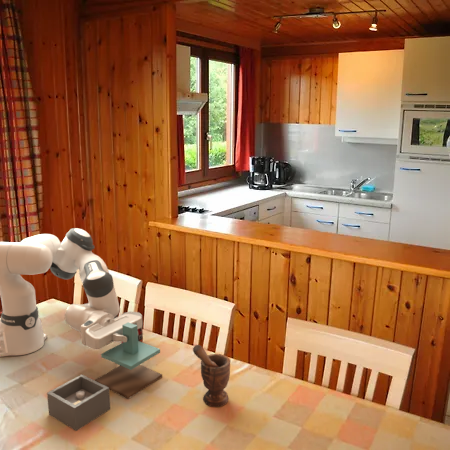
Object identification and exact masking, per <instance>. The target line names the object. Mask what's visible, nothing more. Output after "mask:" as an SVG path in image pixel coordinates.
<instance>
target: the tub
mask: <svg viewBox="0 0 450 450" xmlns="http://www.w3.org/2000/svg"><path fill="white" fill-rule="evenodd" d="M46 395H47V406H48V407H47V408H48V415H49V416H50V417H52V418H53V419H55V420H57V421H58V422H61V423H62V424H64V425H65V426H66V427H69V428H70V429H73V430H74V431H76V432H77V431H79V430H81V428H83V427H85V426H87V425H88V424H89V423H91V422H92V421H93V420H95V419H97V418H99V417H101V416H102V415H103V414H104V413H107V412H109V410H111V397H110V390H109V387H107V386H105V385H103V384H101V383H99V382H97V381H95V379H92V378H90V377H88V376H86V375H84V374H83V373H81V374H80V375H77V376H76V377H74V378H73V379H70V380H69V381H66V382H65V383H63V384H61V385H59V386H57V387H55V388H52V390H49V391H48V392H47V393H46Z"/></svg>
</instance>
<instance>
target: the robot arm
mask: <svg viewBox="0 0 450 450" xmlns="http://www.w3.org/2000/svg"><path fill="white" fill-rule="evenodd" d="M93 243H94V240H93V238H92V235H91V234H90V233H88V232H87V231H86V230H84V229H83V228H78V227H73V228H70V229H69V231H68V232H66V234H65V237H64V238H63V240H62V241H60V239H59V237H57V236H56V235H54V234H51V233H41V234H40V233H39V234H36V235H33V236H29V237H26V238H25V237H24V238H23V239H22V240H21V241H20V242H18V241H17V242H13V241H12V242H11V241H10V242H9V241H0V300H1V306H2V309H1V310H0V315H1V316H0V357H7V356H23V355H28V354H31V353H34V352H37V351H38V350H40V349H41V348H43V346H44V345H45V340H47V337H48V335H47V333H44V328H43V322H42V321H43V320H42V318H40V316H39V314H40V313H39V309H38V308H39V307H38V306H37V300H36V299H37V298H36V289H35V287H34V286H33V284H32V283H30V281H27V280H25V278H23V277H22V276H21V275H24V276H25V275H27V276H28V275H29V276H30V275H32V276H33V275H38V274H45V273H46V272H48V271H51V273H52V274H53V275H54V276H55V277H57V278H59V279H62V280H70V279H71V280H72V279H73V278H74V276H75V275H76V274H77V273H78V272H79V273H78V274H79V278H80V281H81V283H82V287H83V290H84V292H85V294H86V297H87V300H88V301H87V303H84V304H83V303H82V304H79V303H72V304H70V305H68V306H67V308H66V310H65V312H64V320H65V323H66V325H68V326H69V327H70V328H71V329H73V330H74V331H75V332H76V331H77V332H79V333H80V340H81V344H82V345H83V346H86V347H88V348H90V349H93V350H100V349H102V348H105V347H106V346H108V345H110V344H112V343H114V342H121V341H123V342H127V341H129V336H128V335H126V334H125V335H123V327H122V325H124V324H126V323H128V322H129V323H132V324H135V325H137V329H139V328H141V327H142V328H143V316H142V317H140V316H137V315H133V314H123V313H122V314H123V315H122V314H121V315H119V313H120V311H121V308H120V303H119V299H118V296H117V292H116V288H115V285H114V278H113V275H112V274H111V273H110V272H109V268H108V266H107V264H106V262H105V261H104V260H103V258H101V257H100V256H99V255H97V254H95V253H94V252H92V251H93V250H94V249H95V244H93ZM49 269H50V270H49ZM77 271H78V272H77Z"/></svg>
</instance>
